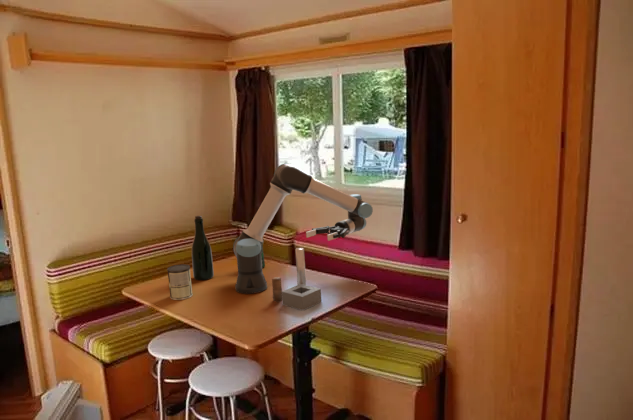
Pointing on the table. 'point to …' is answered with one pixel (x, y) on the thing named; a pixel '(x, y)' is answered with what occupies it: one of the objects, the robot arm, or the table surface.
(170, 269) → the coffee can
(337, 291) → the table surface
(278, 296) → the short walnut pin
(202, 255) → the beer bottle
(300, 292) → the hole block
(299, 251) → the long steel pin
